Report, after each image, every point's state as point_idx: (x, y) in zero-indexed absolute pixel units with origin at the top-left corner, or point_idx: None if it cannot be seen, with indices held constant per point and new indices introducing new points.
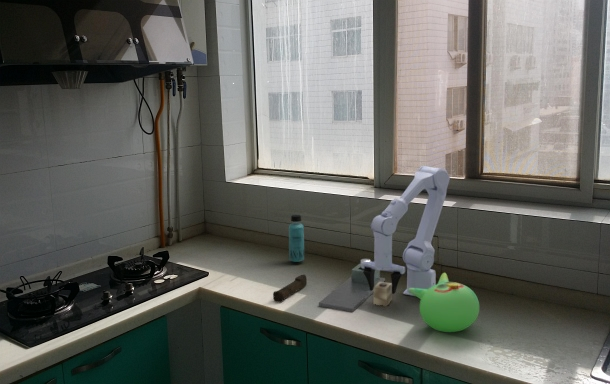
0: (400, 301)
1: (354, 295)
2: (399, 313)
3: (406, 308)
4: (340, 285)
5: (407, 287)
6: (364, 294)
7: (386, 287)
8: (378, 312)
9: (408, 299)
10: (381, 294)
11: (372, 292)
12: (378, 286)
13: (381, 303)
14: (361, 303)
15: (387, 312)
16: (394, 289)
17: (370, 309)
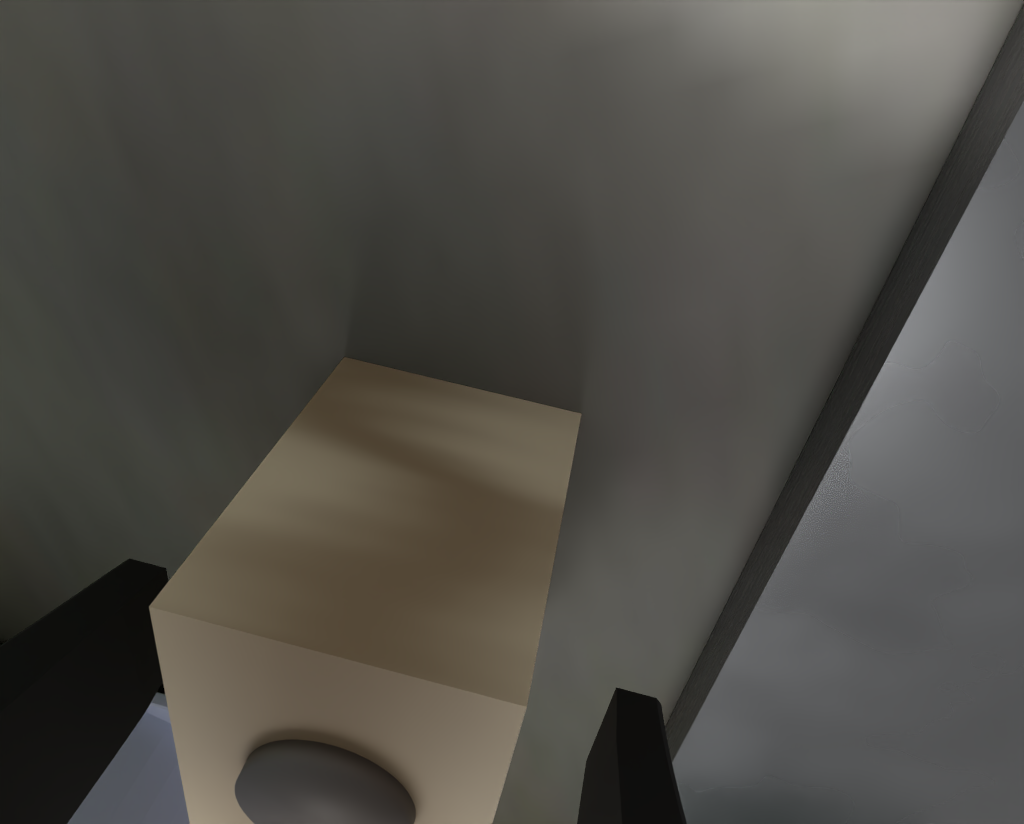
0: None
1: (983, 638)
2: (5, 77)
3: (23, 329)
4: None
5: None
6: (775, 676)
7: (198, 697)
8: (399, 15)
9: None
10: (353, 520)
11: None
12: (410, 746)
13: (418, 399)
14: (824, 411)
15: (224, 69)
16: (44, 641)
17: (606, 153)
